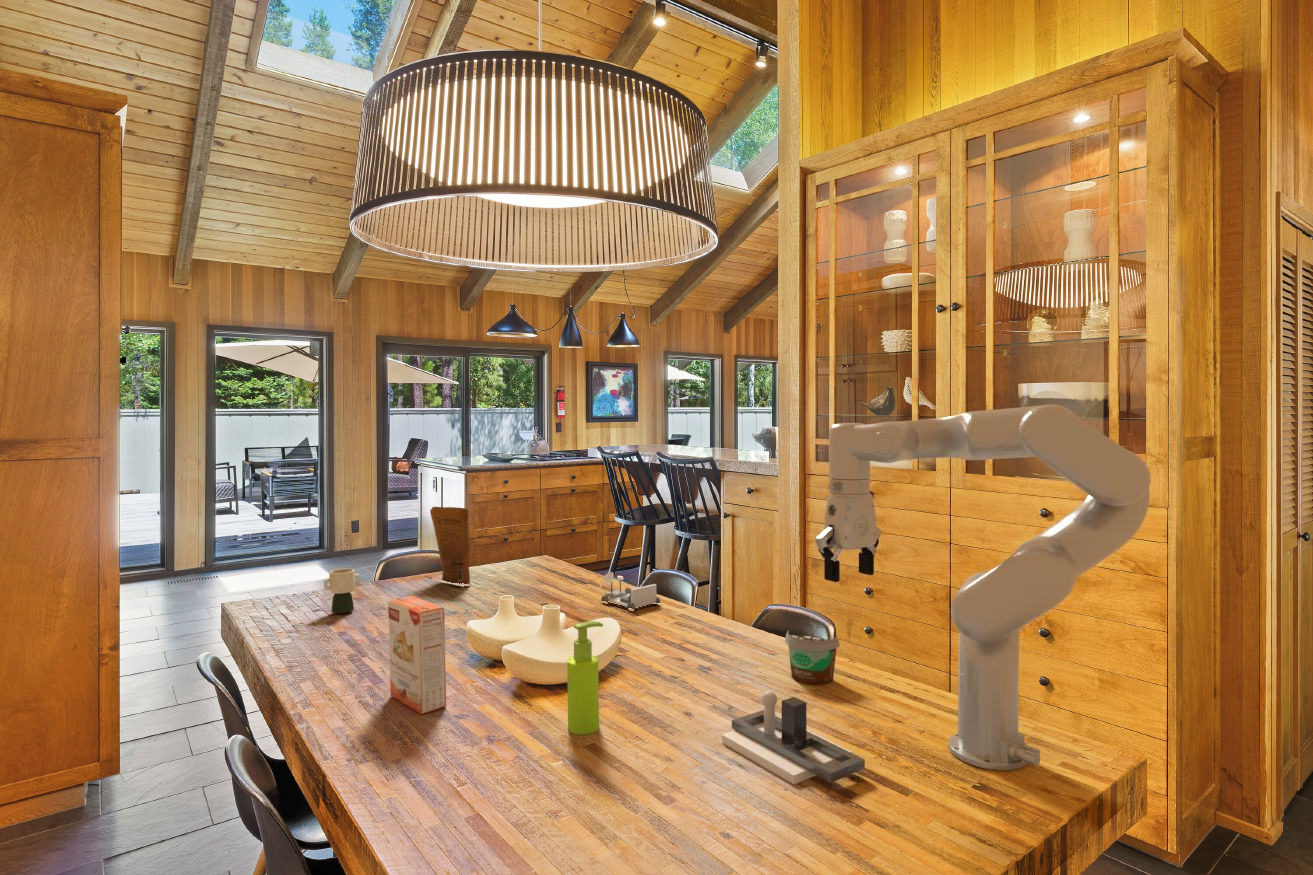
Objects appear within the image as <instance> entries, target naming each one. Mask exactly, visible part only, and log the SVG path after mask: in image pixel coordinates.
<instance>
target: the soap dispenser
mask: <svg viewBox="0 0 1313 875" xmlns="http://www.w3.org/2000/svg"><path fill="white" fill-rule="evenodd" d="M603 626H604V624H603V623H601V622H600V621H595V620H594V621H593V620H592V621H591V620H588V621H583V622H579V623H574V624H573V628H574V629H576V630H577V637H578V638H577V639H576V640H574V641H573V656H571V657H569V658H568V659H567V662H566V665H567V667H566V668H567V671H566V672H567V673H566V674H567V729H568V732H569V733H571V734H575V735H581V736H582V735H590V734H593V733H595V732H598V730H599V729H600V728H599V727H600V700H599V698H600V695H599V694H600V693H599V692H600V689H599V687H600V686H599V681H600V680H599V677H600V676H599V675H600V674H599V673H600V672H599V657H597V656H595V655H593V653H592V652H593V644H592V643H593V642H592V640H591V639H589V638H588V629H590V628H595V627H596V628H597V627H601V628H602V627H603Z"/></svg>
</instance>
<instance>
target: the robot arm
mask: <svg viewBox="0 0 1313 875" xmlns="http://www.w3.org/2000/svg"><path fill="white" fill-rule="evenodd" d="M828 442H829V443H828V449H829V450H828V454H829V455H828V457H829V458H828V464H829V465H828V468H829V469H828V472H829V473H828V479H829V480H828V485H827V486H828V487H827V488H828V496H827V499H826V508H825V516H824V530H822V532H820V534H818V535H817V536H816V537H815V539H814V540H815V542H816V546H817V550H818V552H819V553H820V555H821V558H822V559H823V560H824V561H823V562H824V569H823V570H824V571H823V572H824V576H823V577H824V580H826V581H829V582H833V583H839V582H840V580H841V576H840V575H841V574H840V571H841V570H840V566H841V565H840V564H841V563H840V560H838V559H839V557H840V555H841V553H842V550H844V551H851V550H858V549H859V550H860V552H858V573H860V574H863V575H867V576H873V575H875V554H876V553H877V548H878V545H879V544H880V541H879V540H880V537H881V535H882V529H880V527H877V518H876V507H875V500H874V497H873V494H872V493H871V462H875V463H882V464H893V463H896V462H900V461H908V460H909V461H910V460H921V459H923V460H924V459H925V460H926V459H940V458H941V459H943V458H945V459H946V458H948V459H950V458H951V459H952V458H953V459H955V458H956V459H961V460H964V461H965V460H966V461H985V460H986V461H987V460H1001V459H1003V460H1004V459H1019V458H1021V459H1022V458H1024V459H1025V458H1037V459H1038V460H1040V462H1042V463H1043V464H1045V465H1046V466H1047V467H1049V468H1050V469H1051V470H1053V471H1054V472H1055V473H1057V474H1059V476H1062V477H1063V479H1065V480H1067V481H1069V482H1070V483H1071V484H1072V485H1075V487H1077V488H1079V489H1080V490H1081V491H1082V492H1084V493H1085V494H1087V496H1086V497H1085V499H1084V501H1083V502H1082V503H1081V504H1080V505H1079V506H1078V507H1076V508H1075V509H1074V510H1072V511H1071V512H1069V513H1068V514H1067V515H1065V516H1064V517H1062V518H1061V519H1060V520H1059V521H1057V522H1055V523H1054V524H1052V525H1051V526H1050V527H1048V528H1047V529H1045V530H1043V531H1042V532H1041V533H1039V534H1037V535H1036V536H1034V537H1031V538H1030V539H1029V540H1026V541H1025V542H1022V543H1021V544H1020V545H1019V546H1017V547H1016V549H1015V550H1014V551H1013V553H1012V555H1010V556H1009V557H1007V558H1006V559H1004V560H1003V561H1001V562H1000V563H999V564H997V565H996V566H995V567H992V568H991V569H990V570H988V571H979V572H976V573H973V574H972V575H971V576H969V577H968V578H966V579H965V581H964V582H963V583H962V584H961V586H960V587H959V588H958V591H957V592H956V593H955V595H954V596H953V599H952V601H951V606H950V614H951V618H952V619H951V620H952V621H953V624H954V626H955V628H956V629H957V630H958V632H959V633H958V664H957V665H958V666H957V667H958V669H957V670H958V671H957V672H958V674H957V675H958V676H957V677H958V682H957V683H958V687H957V688H958V690H957V693H958V694H957V696H958V697H957V698H958V700H957V701H958V702H957V703H958V706H957V707H958V708H957V709H958V710H957V712H958V713H957V718H958V719H957V733H955V734H953V735H951V737H949V739H948V746H947V747H948V749H949V752H950V753H952V755H954V757H956V758H957V759H959V760H961V761H962V762H965V763H967V764H969V765H972V766H976V767H978V768H982V769H986V770H992V771H993V770H994V771H1014V770H1015V771H1016V770H1019V769H1021V768H1024V767H1025V766H1027V764H1029V765H1032V766H1034V767H1038V766H1039V765H1040V762H1041V750H1040V749H1039V748H1037V747H1034V746H1030V745H1028V744H1027V743H1026V742H1025V741H1026V740H1025V733H1022V732H1019V701H1020V700H1019V693H1020V692H1019V690H1020V687H1019V686H1020V685H1019V684H1020V682H1019V681H1020V680H1019V679H1020V676H1019V675H1020V674H1019V672H1020V630H1021V629H1022V628H1024V627H1025V626H1026V625H1028V624H1030V623H1031V622H1033V621H1034V620H1036V619H1038V618H1039V617H1041V616H1042V615H1044V614H1046V613H1047V612H1050V611H1051V610H1052V609H1054V608H1055V607H1057V606H1059V604H1061V603H1062V602H1063V601H1064V600H1066V598H1068V596H1069V595H1070V594H1071V592H1072V591H1073V589H1074V586H1075V584H1076V580H1077V579H1078V578H1079V577H1080V576H1081V575H1083V574H1085V573H1086V572H1088V571H1089V570H1090V569H1092V568H1093V567H1096V566H1097V565H1098V564H1100V563H1101V562H1102V561H1104V560H1106V559H1107V558H1109V556H1111V555H1113V554H1114V553H1116V552H1117V551H1118V550H1120V549H1121V548H1123V546H1125V545H1126V544H1127V543H1128V542H1130V540H1132V538H1133V537H1134V536H1135V535H1136V534H1137V533H1138V531H1139V529H1140V528H1141V527H1142V525H1143V523H1144V521H1145V519H1146V516H1147V512H1148V511H1149V510H1148V509H1149V505H1150V499H1151V498H1150V497H1151V491H1150V485H1151V472H1150V470H1149V468H1148V465H1147V463H1146V462H1145V461H1144V460H1143V459H1142V458H1141V457H1140V456H1138V454H1136V453H1134V452H1133V451H1131V450H1128V449H1126V448H1125V447H1123V446H1122V445H1120V443H1117V442H1116V441H1114V440H1113V439H1111V438H1109V437H1108V436H1106V435H1105V434H1103V433H1102V432H1100V431H1099V430H1097V429H1096V428H1094V427H1093V426H1091V425H1089V423H1087V422H1086V421H1084V420H1083V419H1082V418H1080V417H1079V416H1077V415H1076V414H1075V413H1074V412H1073V411H1071V410H1070V409H1069V408H1067V407H1064V406H1063V405H1059V404H1054V403H1053V404H1051V403H1049V404H1043V405H1035V406H1022V407H1021V406H1020V407H1011V408H1010V407H1008V408H1000V409H987V410H986V409H985V410H976V411H975V410H973V411H966V412H961V413H959V414H957V415H956V414H955V415H952V416H946V417H945V416H944V417H937V418H927V419H915V420H913V419H912V420H901V421H895V420H893V421H881V422H877V423H869V424H866V423H863V422H862V423H861V422H839V423H833V424H832V425H831V426H830V428H829V434H828Z"/></svg>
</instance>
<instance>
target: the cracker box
mask: <svg viewBox="0 0 1313 875" xmlns="http://www.w3.org/2000/svg"><path fill="white" fill-rule="evenodd" d="M387 606H388V611H387V612H388V637H389V638H388V644H389V645H388V646H389V648H388V650H389V651H388V652H389V679H390V680H389V684H390V689H389V690H390V696H391V697H392V696H393V697H392V698H394V699H396V700H397V699H398V701H399V702H400V701H401V704H403V705H404V706H405V705H406V706H407V707H408V706H409V707H408V708H410V709H412V710H413V711H415V712H417V713H418V714H420V715H421V714H422V715H425V714H428V713H431V712H434V711H437V710H440V709H442V708H446V707H447V688H446V687H447V686H446V684H447V682H446V681H447V680H446V678H447V676H446V673H447V672H446V635H445V634H446V632H445V631H446V630H445V629H446V628H445V626H446V624H445V607H443V606H440V605H438V604H434V603H432V602H429V601H427V600H424V599H422V598H419V597H416V596H414V595H409V596H404V597H399V598H393V599H391V600H388V601H387ZM424 713H425V714H424Z"/></svg>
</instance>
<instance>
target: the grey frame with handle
mask: <svg viewBox="0 0 1313 875" xmlns="http://www.w3.org/2000/svg"><path fill="white" fill-rule="evenodd" d="M777 716H778V715H775V729H777V730H779V731H781V732H782V738H779V739H776V738H774V737H772V736H771V735H769V734H767V733H765V732H763V731H761V730H759V729H757V728H755V727H753V726H754V725H757V724H760V723H763V722H764V709H763V710H760V711H757V712H754V713H750V714H746V715H744V716H740V717H738V718H735V719H731V729H732V730H733V731H734V730H736V731H738V732H739V733H741V734H743V735H745V736H747V737H748V738H750V739H752V740H754V741H756V742H758V743H759V744H761V745H763V746H765V747H767V748H768V749H770V750H772V751H774V752H776V753H778V754H779V755H781V756H783V757H785V758H787V759H788V760H790V761H792V762H794V763H796V764H798V765H799V766H801V767H803V768H805V769H807V770H808V771H810V772H812V773H814V774H816V776H818V777H819V778H821V779H823V780H825V781H827V782H828V783H831V784H832V783H834V782H836V781H839V780H841V779H843V778H846V777H848V776H851V775H852V774H855V773H857V772H860V771H862V770H865V769H866V767H865V766H866V763H865V762H866V760H865V758H863V757H860V756H858V755H857V754H854V753H853V752H852V753H851V752H849V751H847V750H845V749H842V748H840V747H838V746H836V745H834V744H832V743H830V742H828V741H826V740H824V739H822V738H820V737H818V736H816V735H814V734H812V733H810V732H808V731H806V730H807V701H804V700H801V699H800V698H797V697H795V696H792V697H789V698H786V699H783V700H781V717H782V719H781V718H779V717H777ZM808 747H812V748H814V749H816V750H818V751H820V752H822V753H824V754H826V755H828V756H830V757H832V758H834V759H836V760H838V761H840V762H841V763H839V764H836V765H834V766H831V767H829V766H828V765H826V764H824V763H822V762H820V761H818V760H816V759H814V758H812V757H810V756H809V755H807V754H805V753H803V752H801V751H800V750H803V749H805V748H808Z"/></svg>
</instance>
